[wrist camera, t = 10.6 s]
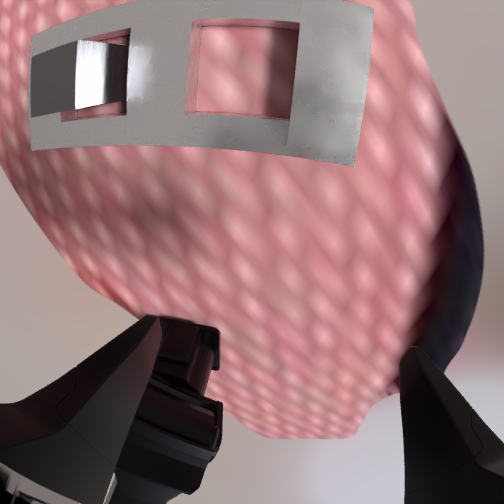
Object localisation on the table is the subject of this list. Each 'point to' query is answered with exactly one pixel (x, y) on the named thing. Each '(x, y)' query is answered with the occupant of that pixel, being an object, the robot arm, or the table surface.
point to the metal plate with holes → (186, 76)
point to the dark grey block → (78, 76)
